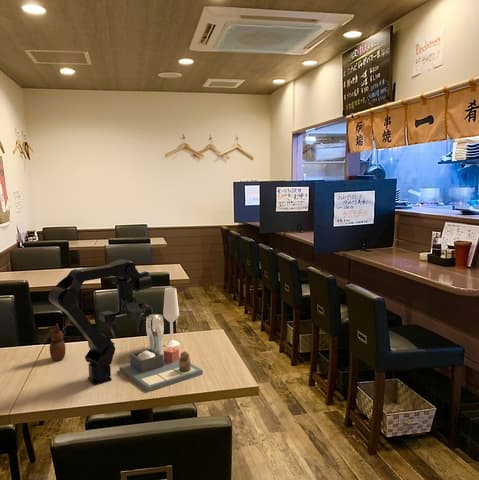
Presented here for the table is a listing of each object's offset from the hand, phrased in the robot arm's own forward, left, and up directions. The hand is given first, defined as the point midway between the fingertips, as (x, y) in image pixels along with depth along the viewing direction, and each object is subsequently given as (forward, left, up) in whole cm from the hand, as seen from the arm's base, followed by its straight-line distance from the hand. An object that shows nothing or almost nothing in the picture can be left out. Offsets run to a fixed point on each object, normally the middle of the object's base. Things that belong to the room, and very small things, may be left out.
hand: (127, 335), depth 175 cm
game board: (+8, -10, -13) cm, 18 cm away
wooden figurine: (-17, +26, -13) cm, 34 cm away
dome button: (+5, -5, -10) cm, 12 cm away
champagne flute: (+26, +12, -13) cm, 32 cm away
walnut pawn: (+14, -17, -11) cm, 25 cm away
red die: (+15, -6, -12) cm, 20 cm away
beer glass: (+16, +8, -13) cm, 22 cm away
